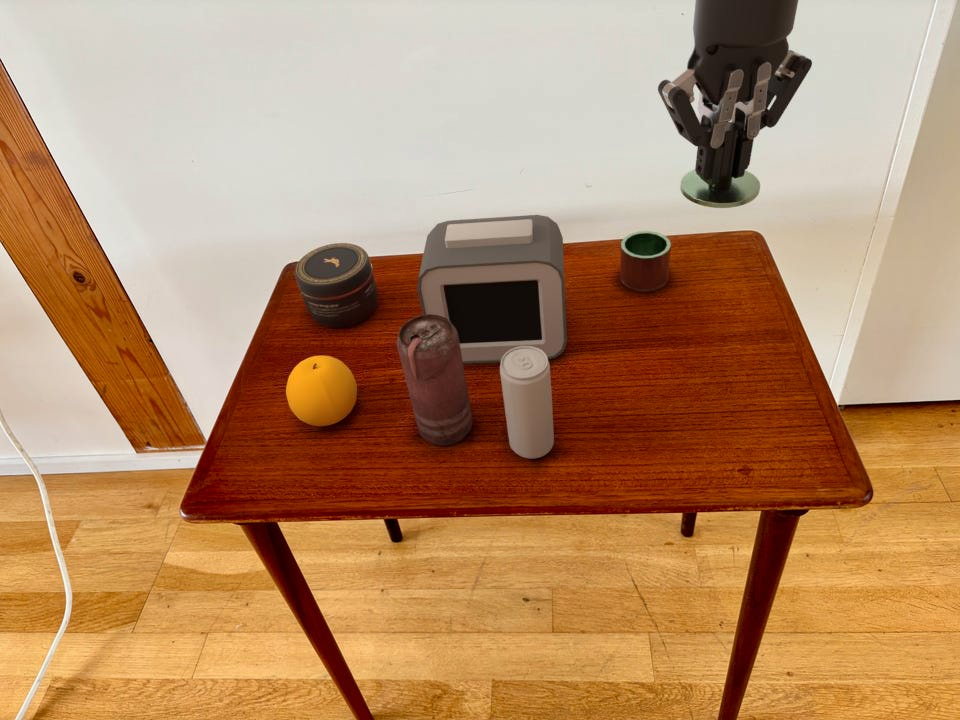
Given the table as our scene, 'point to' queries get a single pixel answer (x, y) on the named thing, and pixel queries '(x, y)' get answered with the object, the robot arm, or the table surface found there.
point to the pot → (645, 261)
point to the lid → (723, 179)
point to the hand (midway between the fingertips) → (721, 176)
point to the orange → (321, 390)
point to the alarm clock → (497, 284)
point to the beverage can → (527, 401)
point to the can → (435, 378)
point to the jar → (337, 284)
